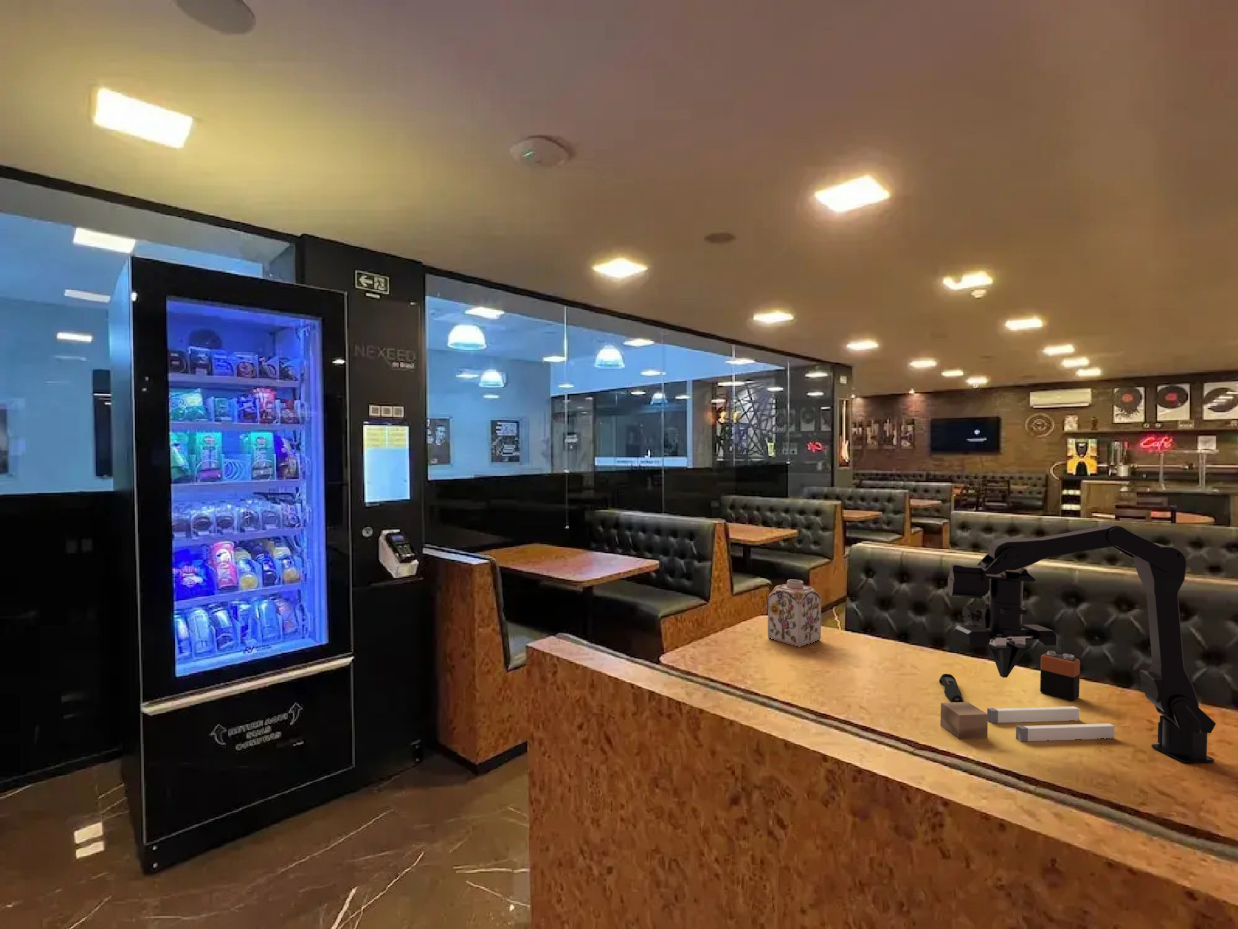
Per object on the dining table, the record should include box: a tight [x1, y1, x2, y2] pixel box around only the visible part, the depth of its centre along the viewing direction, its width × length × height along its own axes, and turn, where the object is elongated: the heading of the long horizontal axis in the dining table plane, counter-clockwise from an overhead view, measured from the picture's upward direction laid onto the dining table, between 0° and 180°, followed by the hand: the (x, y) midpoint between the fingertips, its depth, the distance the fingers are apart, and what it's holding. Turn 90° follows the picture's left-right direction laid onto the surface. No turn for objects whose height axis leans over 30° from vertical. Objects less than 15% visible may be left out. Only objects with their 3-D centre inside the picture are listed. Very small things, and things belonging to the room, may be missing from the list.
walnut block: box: [939, 701, 989, 740], centre depth 125 cm, size 6×6×5 cm
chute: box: [986, 706, 1115, 743], centre depth 127 cm, size 10×20×3 cm, turn 95°
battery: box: [1039, 650, 1081, 702], centre depth 146 cm, size 4×7×10 cm, turn 37°
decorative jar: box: [767, 578, 822, 648], centre depth 187 cm, size 12×12×18 cm
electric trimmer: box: [938, 673, 964, 703], centre depth 146 cm, size 4×16×3 cm, turn 159°
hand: (1003, 677), depth 126 cm, fingers closed
